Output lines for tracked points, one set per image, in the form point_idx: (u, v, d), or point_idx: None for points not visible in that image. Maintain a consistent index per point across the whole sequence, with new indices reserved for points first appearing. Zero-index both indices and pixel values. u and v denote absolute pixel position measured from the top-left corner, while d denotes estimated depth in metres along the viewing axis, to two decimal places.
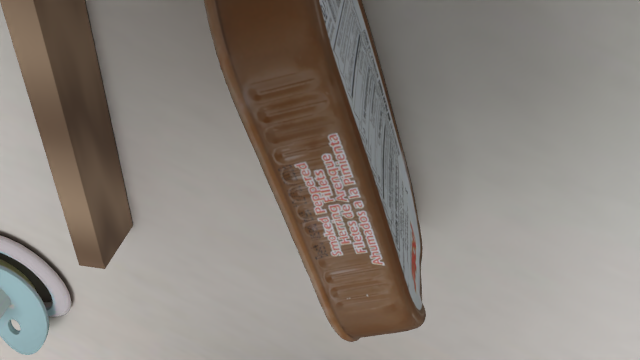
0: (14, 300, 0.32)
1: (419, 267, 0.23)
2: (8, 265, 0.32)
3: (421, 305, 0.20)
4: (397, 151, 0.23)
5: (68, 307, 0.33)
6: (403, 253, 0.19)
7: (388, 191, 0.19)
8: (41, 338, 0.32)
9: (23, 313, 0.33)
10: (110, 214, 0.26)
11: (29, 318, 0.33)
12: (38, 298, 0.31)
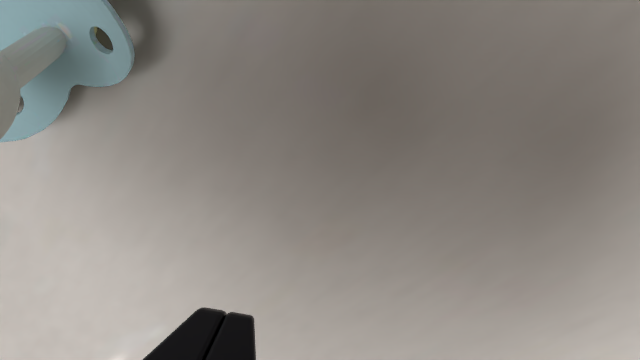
0: (46, 17, 0.17)
1: None
2: None
3: None
4: None
5: None
6: None
7: None
8: None
9: (65, 8, 0.17)
10: None
11: None
12: None
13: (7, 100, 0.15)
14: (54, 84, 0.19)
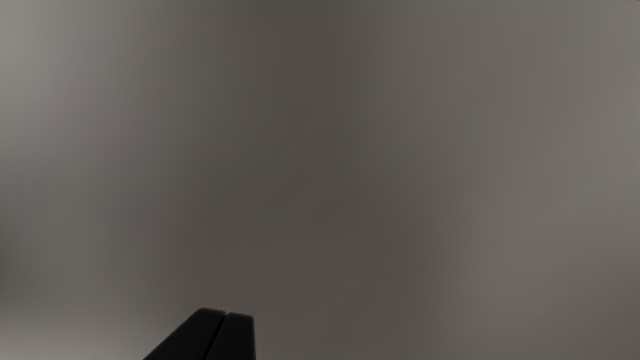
0: None
1: None
2: None
3: None
4: None
5: None
6: None
7: None
8: None
9: None
10: None
11: None
12: None
13: None
14: None
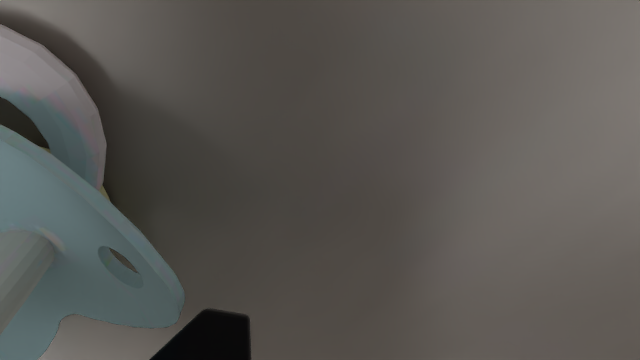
0: (17, 217, 0.09)
1: None
2: None
3: None
4: None
5: (8, 39, 0.08)
6: None
7: None
8: (62, 180, 0.07)
9: (53, 212, 0.09)
10: None
11: (49, 197, 0.08)
12: None
13: None
14: (34, 310, 0.11)
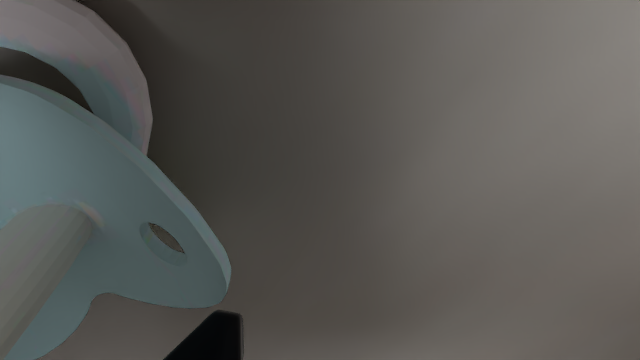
0: (56, 191, 0.09)
1: None
2: None
3: None
4: None
5: (59, 3, 0.08)
6: None
7: None
8: (116, 150, 0.07)
9: (95, 184, 0.09)
10: None
11: (94, 169, 0.08)
12: None
13: None
14: (66, 287, 0.10)
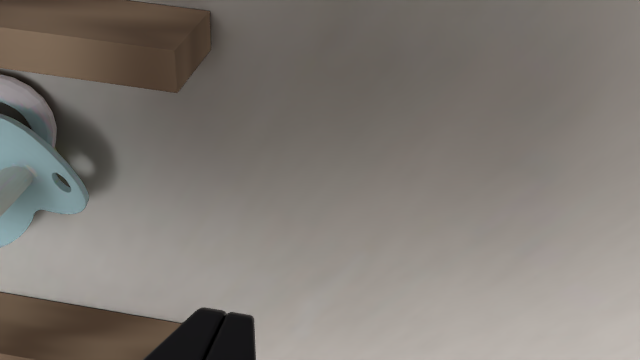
0: (16, 160, 0.21)
1: None
2: None
3: None
4: None
5: (16, 84, 0.19)
6: None
7: None
8: (36, 141, 0.19)
9: (32, 157, 0.20)
10: (121, 21, 0.16)
11: (31, 149, 0.20)
12: None
13: None
14: (21, 207, 0.22)
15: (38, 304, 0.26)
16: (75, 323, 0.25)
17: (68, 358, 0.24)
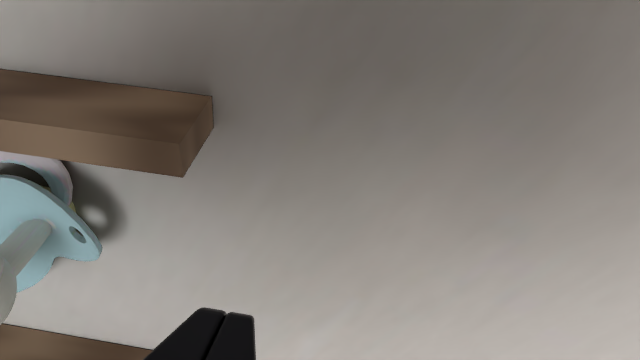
0: (36, 214, 0.23)
1: None
2: None
3: None
4: None
5: None
6: None
7: None
8: None
9: (51, 212, 0.23)
10: (133, 112, 0.19)
11: (50, 207, 0.22)
12: None
13: (7, 300, 0.20)
14: (42, 254, 0.24)
15: (62, 340, 0.29)
16: (96, 358, 0.28)
17: None
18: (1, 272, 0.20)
